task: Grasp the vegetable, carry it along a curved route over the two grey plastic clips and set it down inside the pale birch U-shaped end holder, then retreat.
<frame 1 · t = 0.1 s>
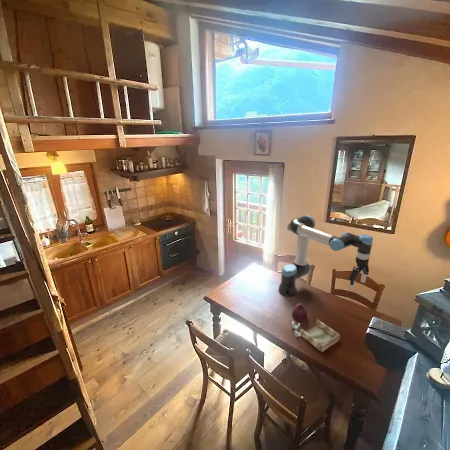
hand: (357, 285, 171), 28 cm above the table, fingers open, 13 cm apart
clip 1: (295, 327, 172), on the table
vegetable: (299, 316, 183), on the table
holder: (319, 337, 164), on the table
clip 2: (298, 335, 166), on the table
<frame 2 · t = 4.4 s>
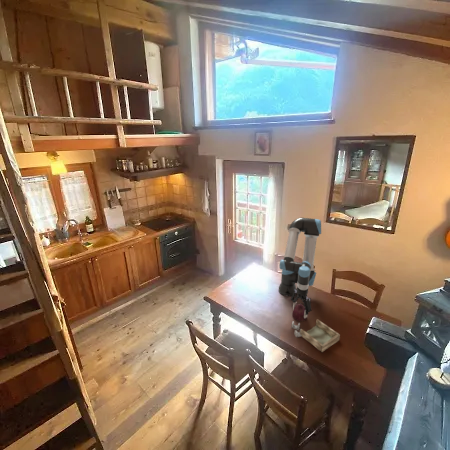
hand: (299, 313, 182), 3 cm above the table, fingers closed on vegetable, 9 cm apart
vegetable: (299, 316, 183), on the table, touching gripper
when the fingers open (5 cm above the table, at t = 11.7 s): vegetable drops 2 cm, resting on holder.
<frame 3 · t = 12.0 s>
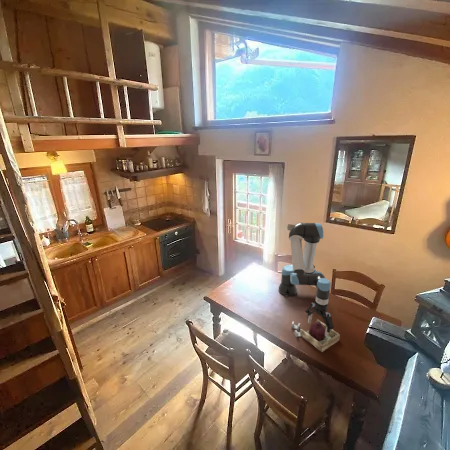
hand: (317, 328, 163), 6 cm above the table, fingers open, 13 cm apart
vegetable: (316, 335, 165), resting on holder
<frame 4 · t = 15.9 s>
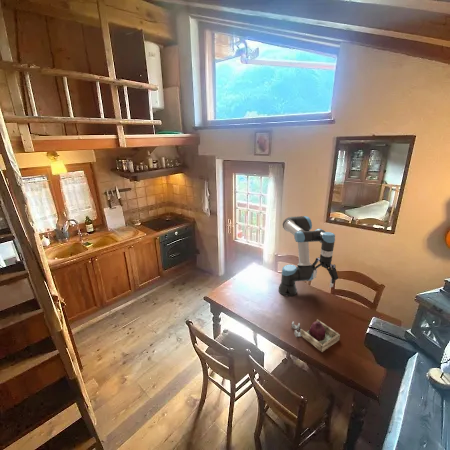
hand: (322, 282, 174), 29 cm above the table, fingers open, 13 cm apart
nothing on the table moved.
at the end: vegetable inside the target area on the holder (1.1 cm from its centre), point 0.1 cm above the holder's base; vegetable touching holder; the gripper is holding nothing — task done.
